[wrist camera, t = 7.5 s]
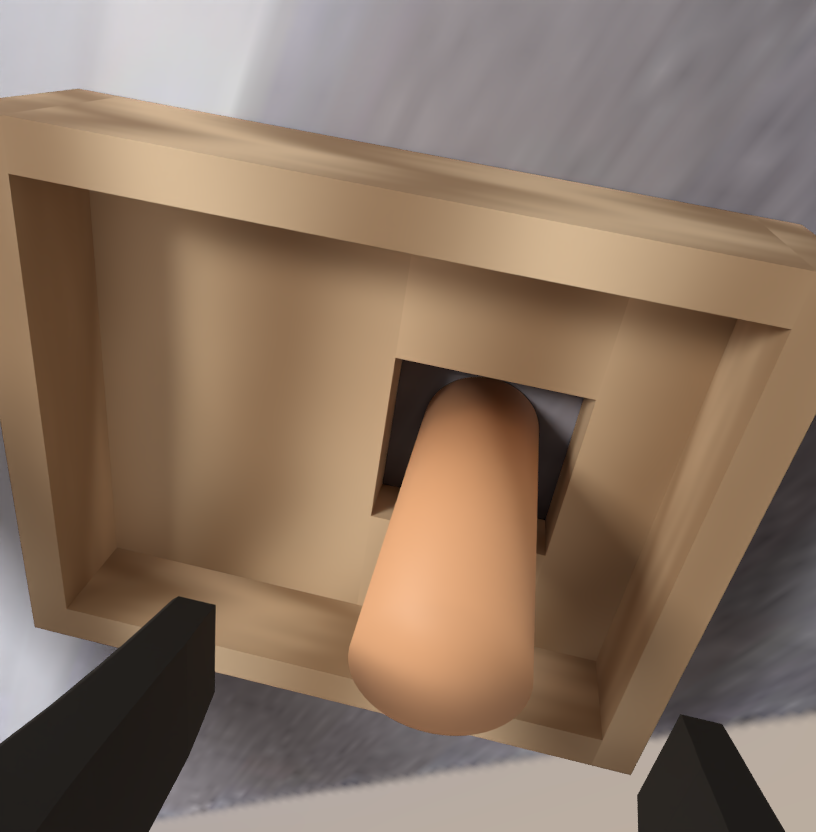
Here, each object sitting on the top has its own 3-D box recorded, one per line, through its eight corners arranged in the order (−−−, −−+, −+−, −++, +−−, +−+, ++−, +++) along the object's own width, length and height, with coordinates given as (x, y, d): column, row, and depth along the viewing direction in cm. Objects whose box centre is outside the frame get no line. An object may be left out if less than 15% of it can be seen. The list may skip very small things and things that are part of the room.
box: (114, 534, 22) (34, 626, 19) (78, 88, 16) (-53, 104, 12) (615, 652, 21) (630, 775, 18) (801, 224, 15) (882, 284, 11)
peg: (413, 461, 19) (336, 707, 12) (436, 363, 17) (363, 581, 11) (521, 489, 19) (505, 754, 12) (553, 393, 17) (557, 633, 10)
